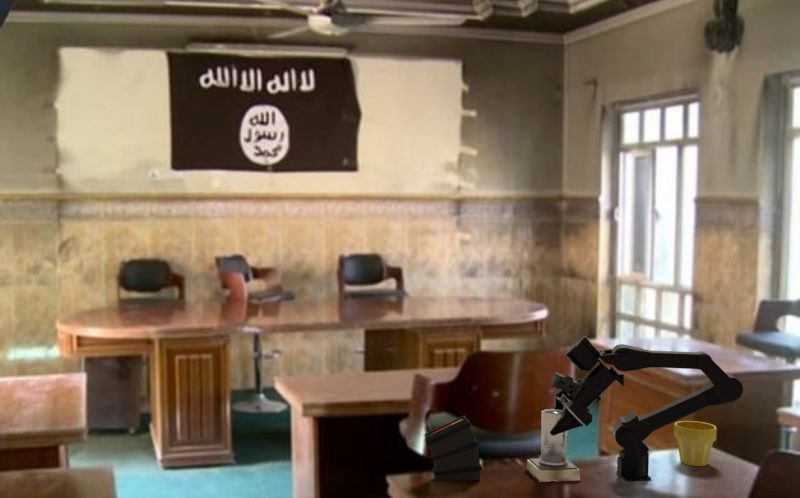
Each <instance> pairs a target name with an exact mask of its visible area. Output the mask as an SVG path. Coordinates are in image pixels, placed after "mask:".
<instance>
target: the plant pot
mask: <svg viewBox="0 0 800 498" xmlns="http://www.w3.org/2000/svg"><path fill="white" fill-rule="evenodd" d="M717 430H718V429H717V426H716V425H714V424H712V423H708V422H705V421H695V420H694V421H693V420H681V421H680V420H678V421H675V422H674V427H673V436H674V437H675V439H676V442H677V443H676V444H677V448H678V455H679V460H680V462H681V463H682V464H684V465H687V466H693V467H705V466H707V465H708V463H709V460H710V456H711V452H712V448H713V444H714V442H716V441H717V434H718V433H717Z"/></svg>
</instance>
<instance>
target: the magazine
mask: <svg viewBox="0 0 800 498" xmlns="http://www.w3.org/2000/svg"><path fill="white" fill-rule="evenodd" d="M471 426H472V424H471V422H470V420H469V419H468V418H467V417H466V415H462V416H460V417H458V418H456V419H454V420H452V421H449V422H447V423H446V424H445V423H444V424H443V425H441V426H439V427H437V428H434V429H433V430H431V431H429V432H426V433H425V434H424V440H425V443H426V446H427V447H429V449H430V451H431V454H430V457H431V459H432V461H433V467H432V473H433V475H434V480H435V481H436V482H458V481H459V482H464V481H465V482H467V481H468V482H471V481H472V480H479V481H480V480H481V471H483V470H482V465H481V463H480V455H479V449H478V447H479V443H478V440H477V439H476V437H475V434H474V432H473V430H472V427H471ZM472 482H473V481H472Z"/></svg>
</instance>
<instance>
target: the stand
mask: <svg viewBox="0 0 800 498" xmlns="http://www.w3.org/2000/svg"><path fill="white" fill-rule="evenodd" d="M540 458H541V457H538V458H536V457H535V458H529V459H527V460H526V471H527V470H528V471H529V472H530V473H531V474H532V475H531V474H530V473H529V472H528V471H527V472H528V473H529V474H530V475H531V476H532V477H534V476H535V477H536V478H537V479H538V480H539V481H538V480H537V479H536V478H535V477H534V478H535V479H536V480H537V481H538V482H539V483H547V482H549V483H550V482H551V481H554V482H575V481H576V482H577V481H581V469H580V468H579V467H577V466H576V465H575V464H573V463H572V462H571V461H570V460H568V464H567V465H566V466H561V467H550V466H545V465H542V464H540ZM559 480H560V481H559ZM561 480H562V481H561Z"/></svg>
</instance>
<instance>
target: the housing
mask: <svg viewBox="0 0 800 498" xmlns="http://www.w3.org/2000/svg"><path fill="white" fill-rule="evenodd" d="M540 412H541V417H540V418H541V419H540V420H541V422H540V423H541V426H540V427H541V430H540V431H541V433H540V434H541V435H540V437H541V438H540V439H541V440H540V441H541V442H540V443H541V445H540V446H541V447H540V448H541V450H540V457H539V458H540V464H542V465H545V466H550V467H561V466H566V465H567V464H568V461H569V460H568V458H567V431H565V432H562V433H559V434H557V435H554V436H552V435H551V434H550V431H551V430H552V428H553V427H554V426H555V424H556V423H557V422H558V420H559V419H560V418H561V416H562V415H563V410H558V409H553V408H549V409H548V408H547V409H543V410H541V411H540Z"/></svg>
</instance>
